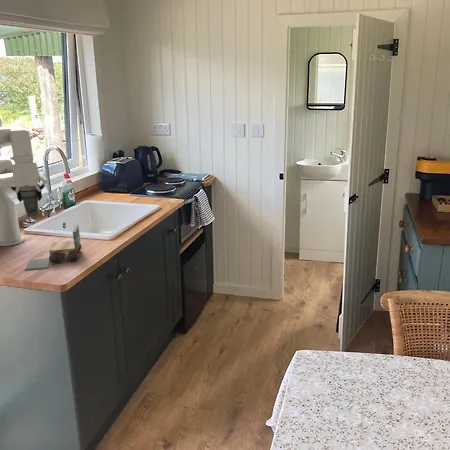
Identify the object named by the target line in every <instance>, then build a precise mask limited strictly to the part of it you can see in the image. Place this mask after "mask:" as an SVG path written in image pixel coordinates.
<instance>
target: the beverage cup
mask: <svg viewBox="0 0 450 450" xmlns="http://www.w3.org/2000/svg"><path fill="white" fill-rule="evenodd" d="M19 191H20V193H21V195H22V199H23V200H22V202H23V206H24V209H25V214H26V217H28V218H35V217H37V216H39V204H38V202H39V201H38V197H37V189H36V187H35V186H28V185H25V186H23V187H20V190H19Z"/></svg>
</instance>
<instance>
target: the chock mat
mask: <svg viewBox="0 0 450 450" xmlns="http://www.w3.org/2000/svg"><path fill="white" fill-rule="evenodd" d="M50 263H51V262H50V261H49V257H45V258H37V259H29V262H28V263H27V265H26V266H25V268H24V271H35V270H44V269H45V270H46V269H48V268H49V266H50Z"/></svg>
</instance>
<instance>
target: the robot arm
mask: <svg viewBox="0 0 450 450" xmlns="http://www.w3.org/2000/svg"><path fill="white" fill-rule="evenodd" d="M9 146H10V147H11V149H12V156H6V155H0V247H11V246H15V245H19V244H21V243H23V242H25V240H26V239H25V236H23V235H21V231H20V224H19V217H18V213H17V208H16V203H15V202H14V200H13V199H12V198H11V197H9V195H14V194H16V197H17V200H18V201H19V203H21V202H23V199H22V195H21V193H20V191H19V190H20V187H23V186H25V185H28V186H35V187H36V189H37V199H38V202H40V201H41V200H42V199H43V193H42V190H43V189H44V187H45V186H46V185H47V183H48V182H49V181H48V180H47V179H45V178H44V177H43V176H41V175H40V171H39V168H38V164H37V161H36V160H34V155H33V147H32V140H31V135H30V131H29V129H28V128H22V127H19V126H9V127H8V126H7V127H3V118H2V116H1V115H0V148H4V147H9ZM41 182H42V184H41V185H40V183H41Z"/></svg>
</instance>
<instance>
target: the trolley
mask: <svg viewBox="0 0 450 450" xmlns="http://www.w3.org/2000/svg"><path fill="white" fill-rule="evenodd" d="M72 237H73V240H66V241H54V242H52V244H51V246H50V248H49V251H48V252H49V257H48V258H49V261H50V263H51V264H52V265H53V264H54V265H57V264H59V263H60V262H61V259H62V258H61V255H60V254H66V260H67V261H68V262H70V263H75V262H77V261H78V258H79V254H78V253H79V252H80V251H81V249H82V243H81V234H80V229H79V225H78V224H76V225H74V228H73V231H72Z"/></svg>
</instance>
